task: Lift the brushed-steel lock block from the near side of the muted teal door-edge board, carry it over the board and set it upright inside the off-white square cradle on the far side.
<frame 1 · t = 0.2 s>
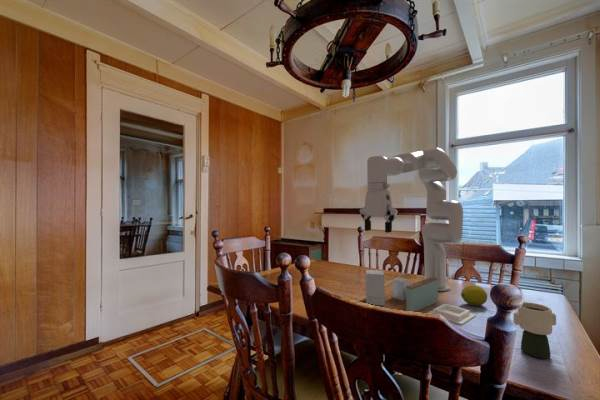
hand: (377, 231, 108), 31 cm above the table, tool pointing down, fingers open, 9 cm apart
supplement box: (375, 302, 115), on the table
lock block: (401, 297, 120), on the table
character mug: (535, 354, 75), on the table
lemon: (473, 305, 111), on the table
door board: (422, 306, 110), on the table
cradle: (451, 315, 101), on the table
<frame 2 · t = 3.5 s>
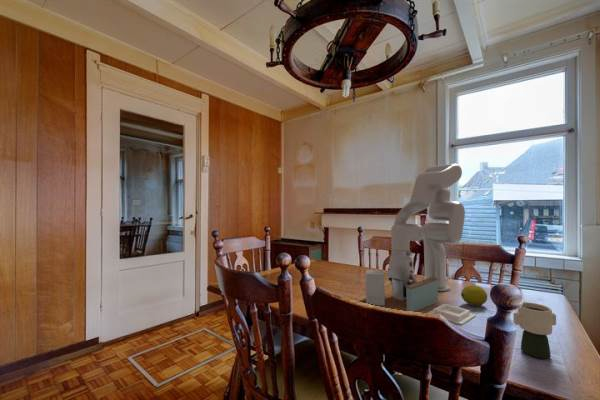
hand: (401, 294, 120), 1 cm above the table, tool pointing down, fingers closed on lock block, 5 cm apart
lock block: (401, 297, 120), on the table, touching gripper
everything else where it was.
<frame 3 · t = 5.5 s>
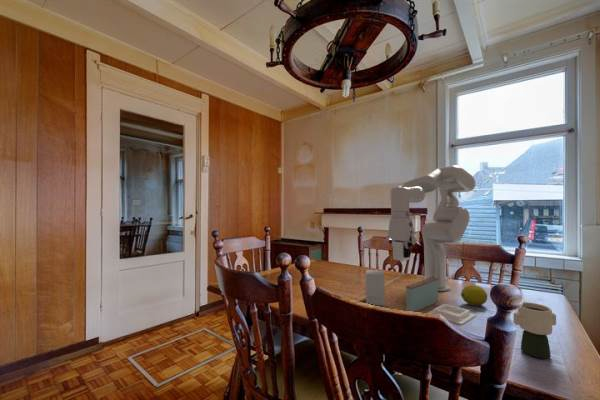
hand: (401, 256, 120), 18 cm above the table, tool pointing down, fingers closed on lock block, 5 cm apart
lock block: (401, 259, 120), point 17 cm above the table, touching gripper
everything else where it was.
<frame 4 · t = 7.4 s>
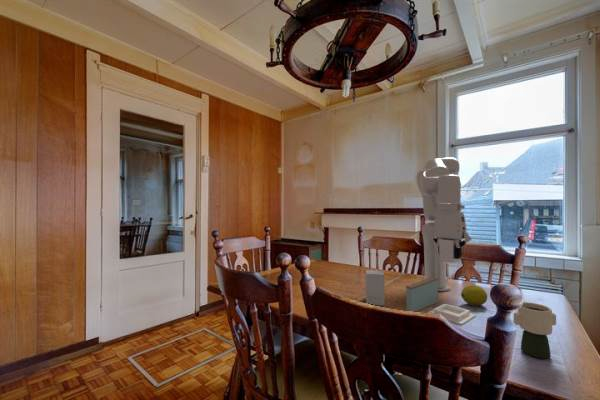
hand: (449, 256, 102), 21 cm above the table, tool pointing down, fingers closed on lock block, 5 cm apart
lock block: (449, 260, 102), point 20 cm above the table, touching gripper
everything else where it was.
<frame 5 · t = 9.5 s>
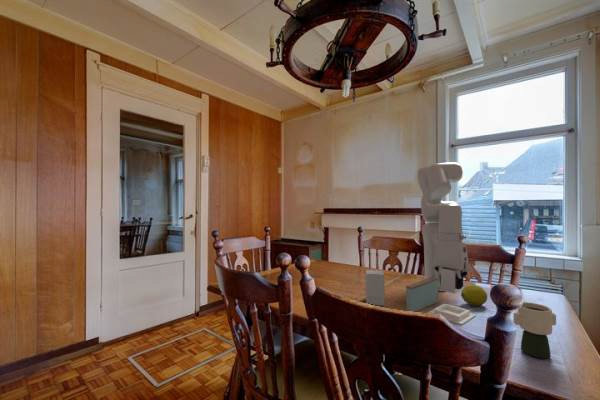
hand: (451, 286, 101), 11 cm above the table, tool pointing down, fingers closed on lock block, 5 cm apart
lock block: (451, 290, 101), point 9 cm above the table, touching gripper
everything else where it was.
when the fingers open (3 cm above the table, at t = 11.3 s): lock block drops 1 cm, resting on cradle.
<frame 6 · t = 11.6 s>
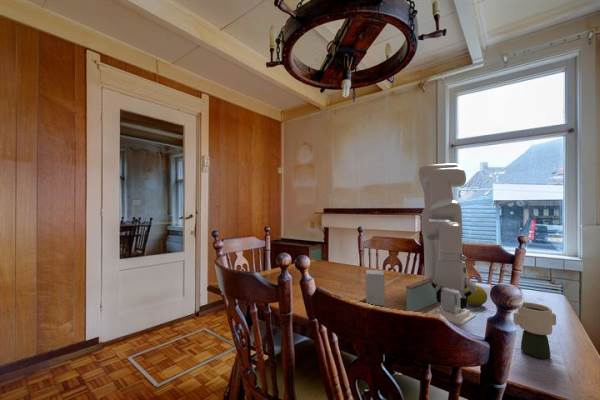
hand: (451, 304, 101), 4 cm above the table, tool pointing down, fingers open, 7 cm apart
lock block: (451, 313, 101), resting on cradle
everything else where it was.
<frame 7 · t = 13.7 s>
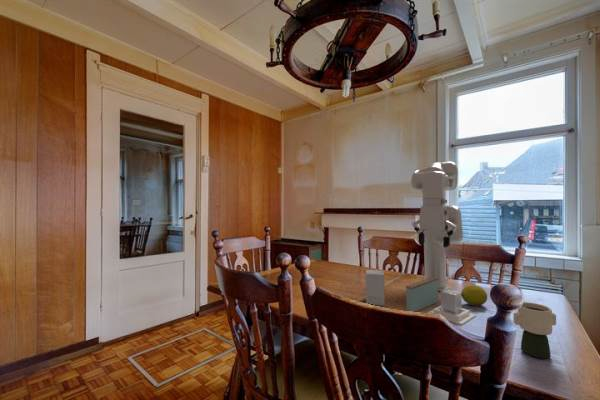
hand: (433, 245, 110), 25 cm above the table, tool pointing down, fingers open, 9 cm apart
nothing on the table moved.
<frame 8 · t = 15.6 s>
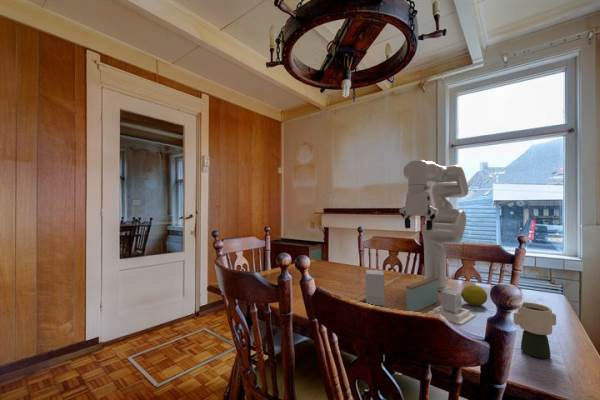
hand: (418, 229, 118), 30 cm above the table, tool pointing down, fingers open, 9 cm apart
nothing on the table moved.
at the end: lock block 0.1 cm off-centre on the cradle, point 0.5 cm above the cradle's base; lock block tilted 0°; the gripper is holding nothing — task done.
